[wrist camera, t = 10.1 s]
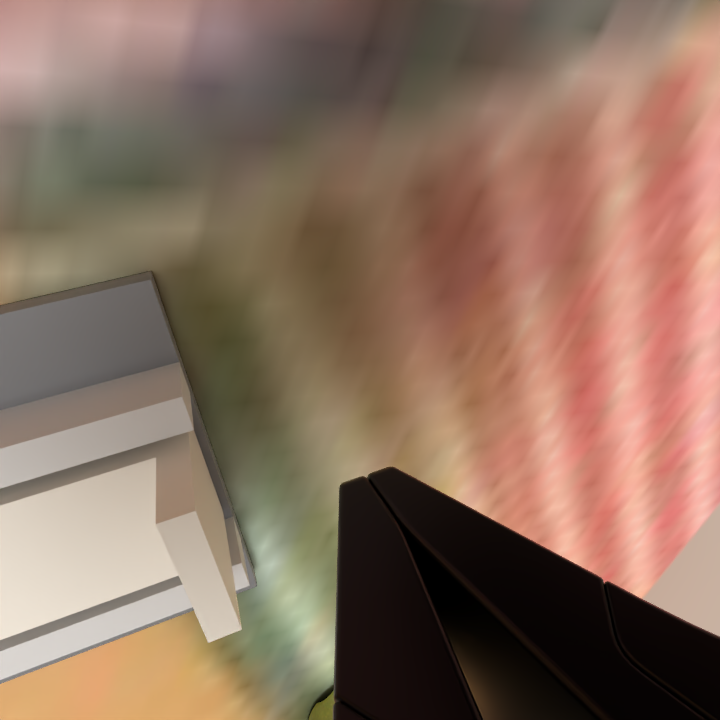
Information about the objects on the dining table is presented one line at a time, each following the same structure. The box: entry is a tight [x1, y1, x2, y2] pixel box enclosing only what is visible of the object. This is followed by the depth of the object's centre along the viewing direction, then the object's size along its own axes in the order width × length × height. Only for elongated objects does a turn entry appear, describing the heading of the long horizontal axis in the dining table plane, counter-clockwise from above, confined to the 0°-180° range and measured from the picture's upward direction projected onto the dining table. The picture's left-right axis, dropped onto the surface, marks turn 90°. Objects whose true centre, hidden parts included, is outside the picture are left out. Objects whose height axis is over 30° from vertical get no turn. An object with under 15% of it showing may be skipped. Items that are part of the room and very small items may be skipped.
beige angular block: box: [0, 430, 242, 643], centre depth 16 cm, size 8×5×5 cm, turn 99°
